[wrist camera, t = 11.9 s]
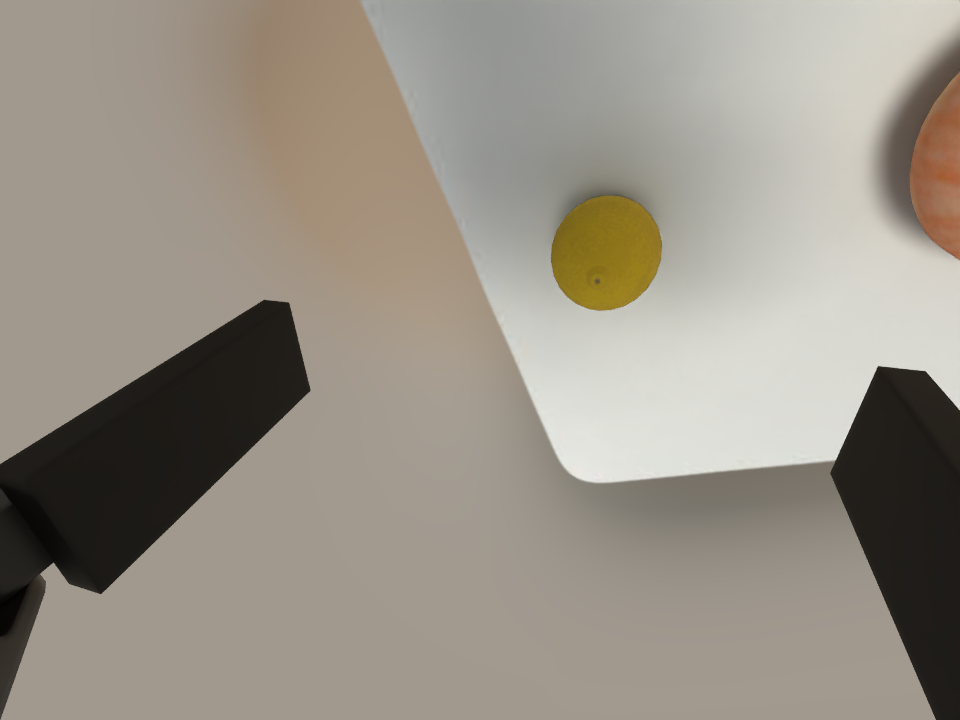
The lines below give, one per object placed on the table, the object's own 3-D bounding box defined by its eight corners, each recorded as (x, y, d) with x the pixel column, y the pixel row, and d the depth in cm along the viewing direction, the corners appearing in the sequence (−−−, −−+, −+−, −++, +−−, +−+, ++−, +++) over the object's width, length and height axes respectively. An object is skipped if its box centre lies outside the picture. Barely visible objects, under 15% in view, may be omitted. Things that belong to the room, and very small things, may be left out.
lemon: (594, 162, 28) (575, 197, 21) (681, 211, 28) (689, 261, 21) (547, 246, 31) (518, 299, 24) (625, 290, 31) (617, 354, 24)
